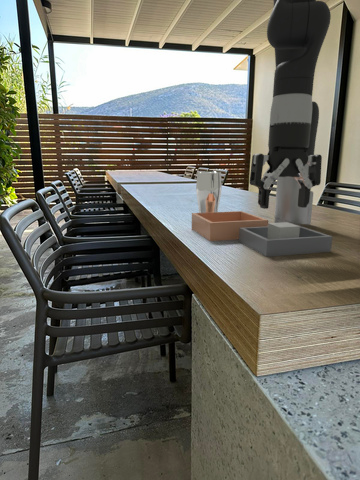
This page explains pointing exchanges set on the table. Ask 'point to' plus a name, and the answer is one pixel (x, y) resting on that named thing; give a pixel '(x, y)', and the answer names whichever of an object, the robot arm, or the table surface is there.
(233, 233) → the terracotta tray
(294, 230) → the off-white cube block
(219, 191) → the silver metal tumbler
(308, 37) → the robot arm
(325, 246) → the charcoal bin
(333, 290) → the table surface
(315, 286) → the table surface
